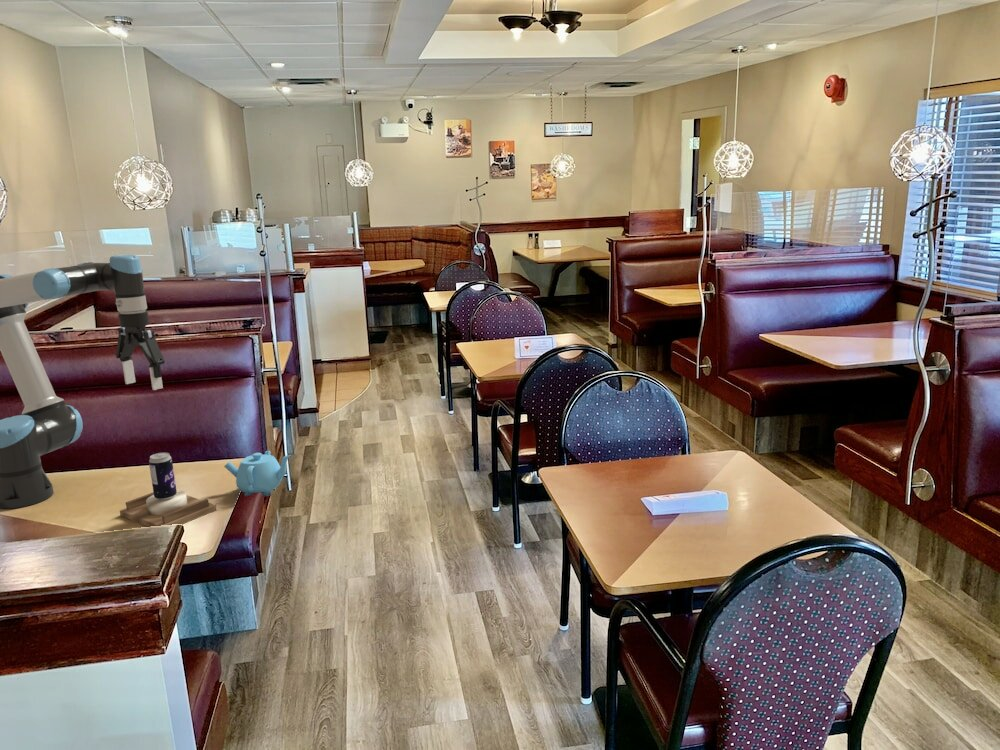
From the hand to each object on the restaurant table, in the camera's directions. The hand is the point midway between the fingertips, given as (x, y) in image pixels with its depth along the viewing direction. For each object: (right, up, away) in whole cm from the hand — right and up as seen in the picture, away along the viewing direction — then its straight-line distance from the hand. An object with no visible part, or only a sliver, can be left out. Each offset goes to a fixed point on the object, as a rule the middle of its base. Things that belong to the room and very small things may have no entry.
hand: (143, 386), depth 219 cm
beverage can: (+10, -30, -9) cm, 33 cm away
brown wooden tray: (+10, -34, -8) cm, 37 cm away
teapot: (+32, -30, +6) cm, 44 cm away
